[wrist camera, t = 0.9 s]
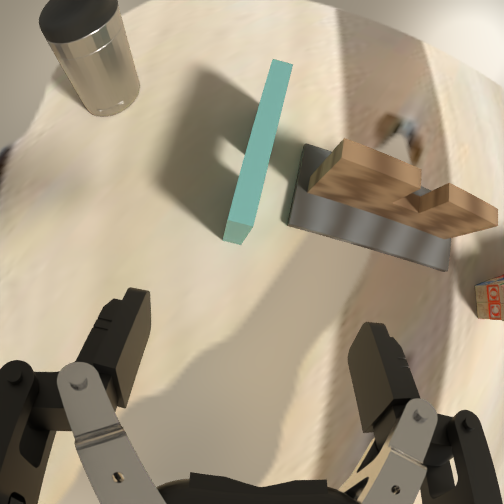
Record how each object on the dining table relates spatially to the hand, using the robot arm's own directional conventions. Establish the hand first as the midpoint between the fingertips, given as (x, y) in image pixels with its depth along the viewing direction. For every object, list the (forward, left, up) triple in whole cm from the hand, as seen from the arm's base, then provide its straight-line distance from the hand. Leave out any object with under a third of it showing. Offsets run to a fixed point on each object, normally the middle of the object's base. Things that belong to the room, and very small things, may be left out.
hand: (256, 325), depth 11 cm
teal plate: (-15, +8, -29) cm, 34 cm away
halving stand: (-5, +25, -29) cm, 39 cm away
